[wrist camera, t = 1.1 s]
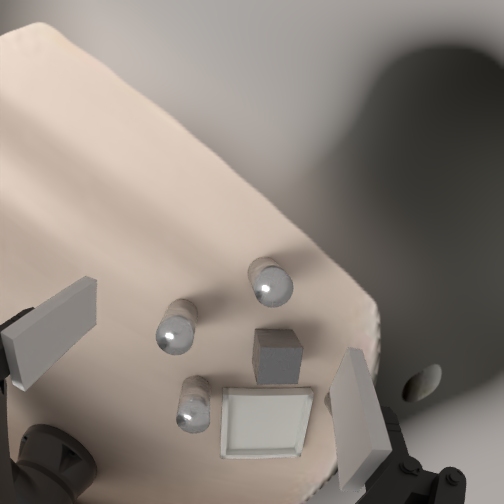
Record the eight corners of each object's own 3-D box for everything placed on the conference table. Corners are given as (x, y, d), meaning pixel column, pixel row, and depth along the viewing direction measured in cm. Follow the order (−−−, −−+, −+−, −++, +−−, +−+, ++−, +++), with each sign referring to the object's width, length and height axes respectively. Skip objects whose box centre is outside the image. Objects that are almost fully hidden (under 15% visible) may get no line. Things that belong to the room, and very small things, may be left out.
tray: (297, 448, 45) (300, 456, 43) (220, 450, 44) (220, 458, 42) (310, 387, 44) (313, 394, 42) (222, 387, 42) (223, 394, 40)
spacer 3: (277, 289, 41) (291, 307, 33) (246, 287, 41) (253, 306, 33) (280, 258, 41) (295, 270, 33) (248, 256, 40) (256, 268, 32)
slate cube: (288, 362, 43) (297, 384, 37) (252, 362, 42) (257, 384, 36) (292, 329, 42) (303, 347, 36) (254, 328, 42) (260, 347, 36)
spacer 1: (197, 329, 41) (192, 356, 33) (166, 327, 41) (156, 353, 33) (198, 300, 40) (193, 321, 33) (167, 298, 40) (155, 318, 32)
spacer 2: (210, 400, 43) (209, 434, 35) (182, 398, 42) (176, 431, 34) (210, 376, 42) (209, 409, 34) (181, 374, 42) (175, 406, 34)
